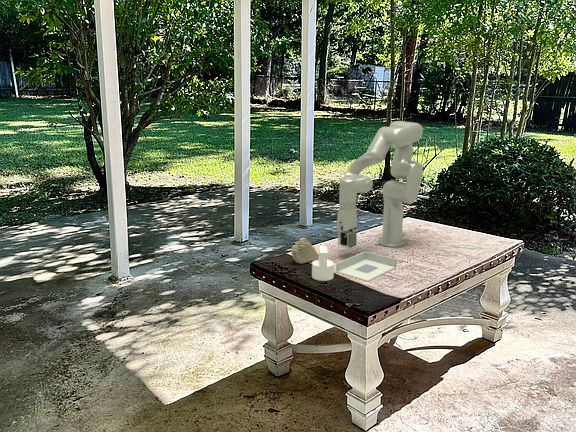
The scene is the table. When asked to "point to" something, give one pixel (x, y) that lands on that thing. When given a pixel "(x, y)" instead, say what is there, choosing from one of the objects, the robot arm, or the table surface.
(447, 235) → the table surface
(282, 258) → the table surface
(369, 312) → the table surface
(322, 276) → the white knob
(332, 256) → the table surface
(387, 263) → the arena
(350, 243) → the block
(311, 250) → the fossil tooth
